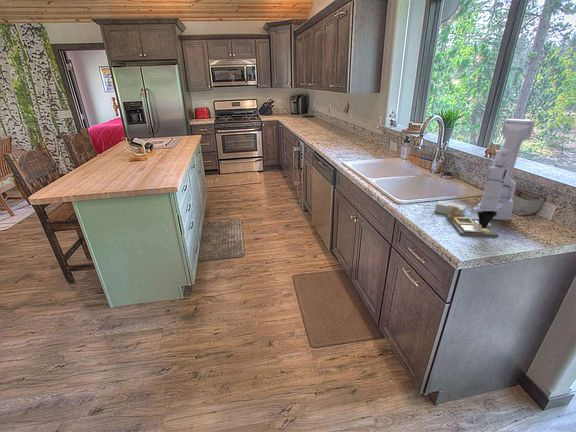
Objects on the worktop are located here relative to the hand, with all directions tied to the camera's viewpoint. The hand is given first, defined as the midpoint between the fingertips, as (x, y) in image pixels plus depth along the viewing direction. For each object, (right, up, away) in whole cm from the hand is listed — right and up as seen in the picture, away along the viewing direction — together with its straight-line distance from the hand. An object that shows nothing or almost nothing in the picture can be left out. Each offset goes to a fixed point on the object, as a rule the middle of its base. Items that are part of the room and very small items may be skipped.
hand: (482, 226), depth 125 cm
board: (-1, -1, +5) cm, 5 cm away
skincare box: (-8, +9, +23) cm, 26 cm away
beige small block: (-5, +3, +15) cm, 16 cm away
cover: (-4, -1, +1) cm, 5 cm away
